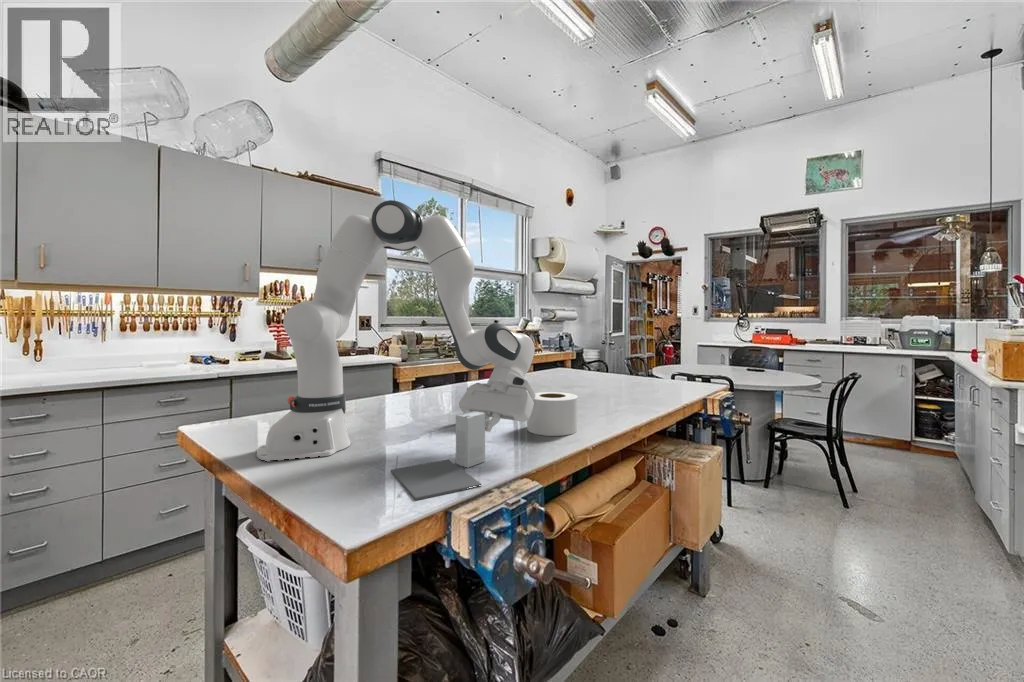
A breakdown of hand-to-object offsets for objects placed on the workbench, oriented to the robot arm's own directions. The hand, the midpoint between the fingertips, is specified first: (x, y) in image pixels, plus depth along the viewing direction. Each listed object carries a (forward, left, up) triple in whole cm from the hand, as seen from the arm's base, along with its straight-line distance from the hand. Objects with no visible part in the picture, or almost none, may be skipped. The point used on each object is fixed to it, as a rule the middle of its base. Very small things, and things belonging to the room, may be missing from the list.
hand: (483, 429), depth 111 cm
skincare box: (-5, -3, -7) cm, 9 cm away
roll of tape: (+30, +13, -7) cm, 33 cm away
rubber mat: (-16, -8, -7) cm, 19 cm away
